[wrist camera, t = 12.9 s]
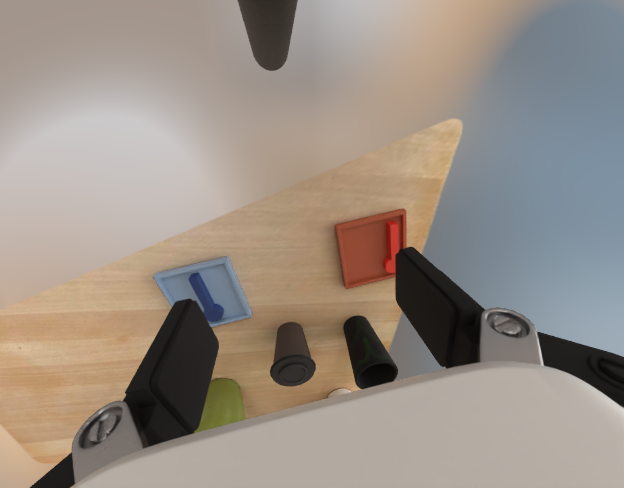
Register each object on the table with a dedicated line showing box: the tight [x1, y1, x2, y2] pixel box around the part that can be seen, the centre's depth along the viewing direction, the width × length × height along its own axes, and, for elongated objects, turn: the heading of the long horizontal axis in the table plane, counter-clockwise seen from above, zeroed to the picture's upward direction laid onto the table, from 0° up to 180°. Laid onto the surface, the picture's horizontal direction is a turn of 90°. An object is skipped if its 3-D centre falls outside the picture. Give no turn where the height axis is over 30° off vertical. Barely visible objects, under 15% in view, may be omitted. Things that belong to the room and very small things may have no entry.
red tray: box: [335, 209, 406, 289], centre depth 42 cm, size 13×12×1 cm
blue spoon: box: [188, 273, 224, 322], centre depth 41 cm, size 10×3×2 cm, turn 11°
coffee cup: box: [270, 322, 316, 386], centre depth 45 cm, size 8×8×10 cm
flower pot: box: [194, 378, 246, 433], centre depth 47 cm, size 15×15×16 cm
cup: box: [343, 316, 398, 389], centre depth 46 cm, size 8×8×12 cm
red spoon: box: [383, 220, 399, 273], centre depth 42 cm, size 10×3×2 cm, turn 11°
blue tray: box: [153, 256, 252, 327], centre depth 42 cm, size 13×12×1 cm
